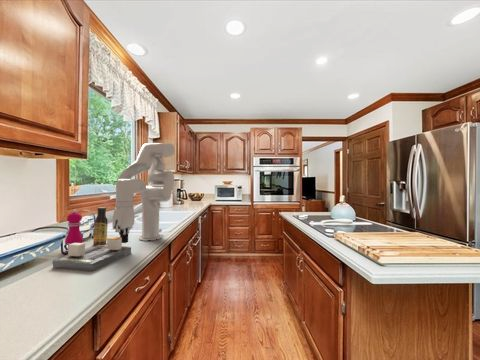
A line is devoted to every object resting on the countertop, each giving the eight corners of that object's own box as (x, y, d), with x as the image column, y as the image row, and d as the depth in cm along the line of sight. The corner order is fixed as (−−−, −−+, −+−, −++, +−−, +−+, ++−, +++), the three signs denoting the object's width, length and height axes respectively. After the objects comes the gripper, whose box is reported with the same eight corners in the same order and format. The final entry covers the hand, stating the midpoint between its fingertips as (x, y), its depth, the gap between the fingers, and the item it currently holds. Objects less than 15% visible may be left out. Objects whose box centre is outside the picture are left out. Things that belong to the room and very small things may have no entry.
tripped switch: (112, 247, 102) (112, 236, 102) (121, 248, 101) (121, 237, 102) (107, 249, 99) (107, 238, 99) (116, 250, 99) (116, 239, 99)
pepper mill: (86, 247, 113) (87, 208, 113) (74, 252, 106) (75, 210, 106) (73, 247, 114) (74, 208, 114) (60, 251, 106) (61, 210, 107)
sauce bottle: (91, 245, 117) (91, 208, 117) (96, 242, 123) (96, 206, 123) (104, 245, 118) (105, 208, 118) (109, 241, 124) (109, 206, 125)
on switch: (74, 253, 94) (74, 242, 94) (84, 254, 93) (85, 243, 93) (68, 255, 91) (68, 244, 91) (78, 256, 90) (78, 245, 90)
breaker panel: (98, 250, 108) (98, 244, 108) (131, 253, 105) (131, 246, 105) (52, 267, 87) (52, 259, 87) (92, 271, 83) (92, 263, 83)
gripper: (128, 203, 115) (127, 238, 115) (105, 205, 100) (105, 246, 100) (141, 203, 114) (140, 239, 113) (120, 206, 99) (119, 247, 99)
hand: (124, 242), depth 107 cm, fingers closed
